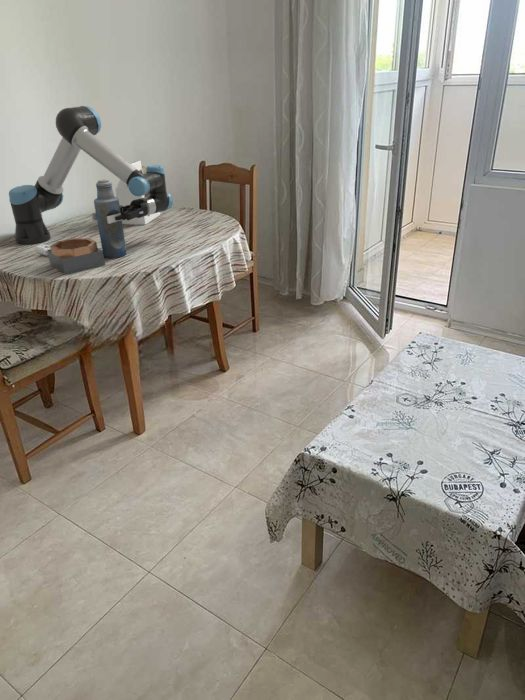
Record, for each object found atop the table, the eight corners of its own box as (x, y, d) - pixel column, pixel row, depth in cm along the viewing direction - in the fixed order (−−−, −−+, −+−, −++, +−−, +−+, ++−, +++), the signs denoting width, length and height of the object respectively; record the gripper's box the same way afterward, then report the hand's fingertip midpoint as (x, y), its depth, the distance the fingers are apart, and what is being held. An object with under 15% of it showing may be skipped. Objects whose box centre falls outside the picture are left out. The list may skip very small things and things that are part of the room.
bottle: (109, 260, 213) (97, 183, 199) (99, 254, 220) (86, 180, 206) (131, 255, 218) (120, 180, 204) (120, 249, 225) (109, 177, 211)
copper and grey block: (50, 264, 210) (45, 243, 206) (88, 256, 218) (85, 236, 214) (65, 274, 198) (60, 252, 194) (105, 265, 207) (101, 244, 203)
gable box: (137, 213, 284) (130, 159, 271) (160, 214, 281) (154, 159, 268) (120, 224, 264) (111, 166, 251) (145, 225, 262) (137, 166, 249)
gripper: (161, 219, 220) (119, 231, 204) (126, 213, 232) (84, 224, 216) (159, 201, 217) (116, 212, 201) (124, 195, 228) (81, 206, 212)
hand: (99, 218), depth 208 cm, fingers closed on bottle, 9 cm apart
